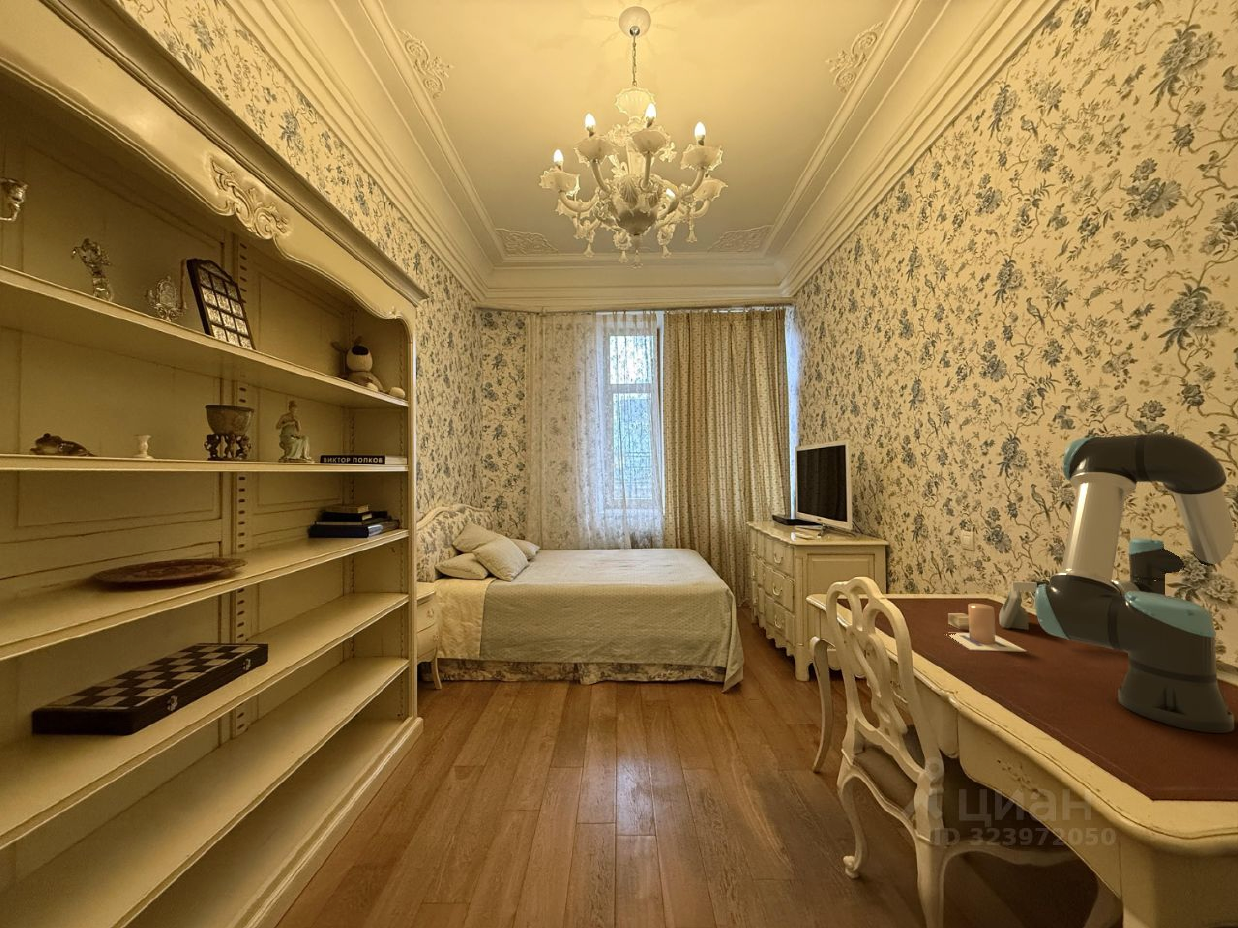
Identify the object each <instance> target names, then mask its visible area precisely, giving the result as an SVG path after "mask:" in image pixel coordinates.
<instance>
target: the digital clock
mask: <svg viewBox="0 0 1238 928" xmlns="http://www.w3.org/2000/svg"><path fill="white" fill-rule="evenodd" d="M1022 602H1023V597H1022V594H1021V591H1012V587H1011V588H1010V590H1009V592H1008V594H1007V596H1006V597H1005V600H1004V603H1003V604H1002V607H1001V609H1000V612H999V615H998V616H999V625H1000V627H1002V628H1003V629H1010V628H1012V629H1019V630H1020V629H1021V630H1025V631H1026V630H1027V631H1028V630H1029V629H1030V628H1029V615H1028V611H1027V609H1026V608H1025V607H1024V606H1022Z"/></svg>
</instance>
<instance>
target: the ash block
mask: <svg viewBox="0 0 1238 928" xmlns="http://www.w3.org/2000/svg"><path fill="white" fill-rule="evenodd" d="M947 618H948V619H947V624H950V625H952V626H954V627H956V628H958V629H969V614H966V613H964V612H954V613H953V612H951V613H949V612H948V613H947ZM958 629H957V630H958Z"/></svg>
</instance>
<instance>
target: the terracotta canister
mask: <svg viewBox="0 0 1238 928" xmlns="http://www.w3.org/2000/svg"><path fill="white" fill-rule="evenodd" d="M967 606H968V608H967V610H968V615H969V630H968V631H969V632H968V633H969V637H970V640H971V641H973V642H976V643H980V644H987V645H993V644H995V643H996V641H995V635H996V623H995V621H996V619H995V617H996V616H995V607H993V606H992V605H987V604H983V603H982V604H981V603H968V604H967Z"/></svg>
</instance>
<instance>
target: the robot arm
mask: <svg viewBox="0 0 1238 928" xmlns="http://www.w3.org/2000/svg"><path fill="white" fill-rule="evenodd" d="M1062 463H1063V466H1062V474H1063V475H1064V478H1065V479H1066V480H1067V481H1068V482H1069V483H1070V485H1071V487H1073V488H1074V489H1075V491H1076V492H1075V497H1074V502H1073V507H1072V512H1071V517H1070V522H1069V525H1068V526H1069V527H1068V531H1067V535H1066V536H1067V537H1066V542H1065V548H1064V553H1063V558H1062V562H1061V568H1060V572H1057V573H1054V574H1052V575H1051V576H1050V579H1049V581H1044V580H1043V581H1042V580H1041V581H1040V580H1035V579H1034V580H1031V581H1011V588H1012V591H1020V592H1031V593H1032V592H1033V593H1034V610H1035V613H1036V617H1037V618H1036V619H1037V621H1038V624H1039V625H1040V627H1041V628H1042V630H1044V632H1045V633H1047V634H1049V635H1052V636H1054V637H1059V638H1063V639H1066V640H1068V641H1074V642H1075V641H1076V642H1080V643H1084V644H1088V645H1093V646H1096V647H1102V648H1105V649H1112V650H1116V651H1119V652H1125V653H1127V655H1128V668H1127V670H1126V673H1125V676H1124V678H1123V681H1122V684H1121V685H1120V686H1119V688H1118V690H1117V692H1118V703H1119V704H1121V705H1122V707H1123V708H1125V709H1127V710H1129V711H1130V712H1133V713H1135V714H1136V715H1139V716H1142V717H1144V718H1147V719H1150V720H1152V721H1154V722H1155V721H1156V722H1159V723H1161V724H1165V725H1169V726H1173V727H1177V728H1181V729H1185V730H1192V731H1197V732H1203V733H1211V734H1224V733H1231V732H1232V731H1234V730H1235V716H1234V714H1233V712H1232V711H1231V710H1230V709H1229V707H1228V703H1227V701H1226V699H1225V697H1224V694H1223V693H1222V691H1221V688H1220V687H1219V685H1218V675H1217V655H1216V654H1217V653H1216V636H1217V632H1216V630H1215V625H1214V624H1215V623H1214V618H1213V615H1212V613H1211V612H1210V611H1209V610H1208V609H1206V608H1205V607H1203V606H1201V605H1199V604H1197V603H1195V602H1192V601H1188V600H1186V599H1184V600H1183V599H1179V598H1175V597H1171V596H1166V595H1165V574H1166V573H1172V572H1179V571H1180V569H1182V567H1183V569H1184V568H1185V567H1186V566H1183V565H1184V563H1183V561H1182V560H1181V559H1180V557H1179V556H1177V555H1175V554H1174V553H1172V552H1170V551H1168V550H1165V549H1164V544H1163V542H1162V541H1160V540H1152V539H1153V538H1150V539H1143V538H1144V537H1136V538H1132V539H1130V540H1129V541H1128V542H1129V543H1128V544H1129V545H1128V554H1127V555H1128V561H1129V562H1128V564H1129V580H1126V579H1124V580H1123V579H1121V580H1120V579H1119V580H1118V579H1113V573H1114V569H1115V562H1116V555H1117V550H1118V542H1119V537H1120V532H1121V525H1122V520H1123V519H1122V518H1123V512H1124V506H1125V500H1126V496H1127V495H1128V496H1129V495H1131V494H1132V493H1134V492H1135V491H1136V490H1137V483H1152V482H1156V483H1162V484H1163V487H1164V488H1165V489H1166V490H1167V491H1168V492H1171V493H1172V495H1173V498H1174V501H1175V503H1176V506H1177V509H1178V512H1179V514H1180V515H1179V516H1180V518H1181V520H1182V523H1183V526H1184V529H1185V533H1186V534H1187V537H1188V541H1189V544H1190V546H1191V549H1193V552H1194V554H1195V556H1196V558H1197V559H1198V560H1199V562H1200V563H1201V564H1204V565H1207V566H1210V565H1211V566H1213V564H1216V563H1219V562H1222V561H1223V560H1225V558H1226V557H1227V556H1228V555H1229V553H1230V552H1231V550H1232V548H1233V545H1234V541H1235V534H1236V531H1235V527H1234V524H1233V520H1232V517H1231V513H1230V510H1229V508H1228V507H1229V506H1228V504H1227V500H1226V497H1225V493H1224V490H1223V487H1224V486H1225V485H1226V483H1227V476H1226V473H1225V470H1224V467H1223V465H1222V464H1221V462H1220V461H1219V459H1217V458H1216V457H1215V456H1214V454H1212V453H1211V452H1209V451H1208V450H1207V449H1206V448H1204V447H1203V446H1201V445H1199V444H1197V443H1196V442H1194V441H1191V440H1189V439H1187V438H1185V437H1181V436H1178V435H1174V434H1170V433H1158V432H1157V433H1156V432H1155V433H1153V432H1152V433H1145V434H1131V435H1130V434H1129V435H1117V436H1116V435H1115V436H1114V435H1113V436H1099V435H1098V436H1092V437H1084V438H1078V439H1076V440H1073V441H1072V442H1071V443H1070V444H1069V445H1068V446H1067V448H1066V449H1065V452H1064V455H1063V458H1062ZM1138 578H1139V579H1138ZM1154 580H1156V581H1154Z"/></svg>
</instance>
